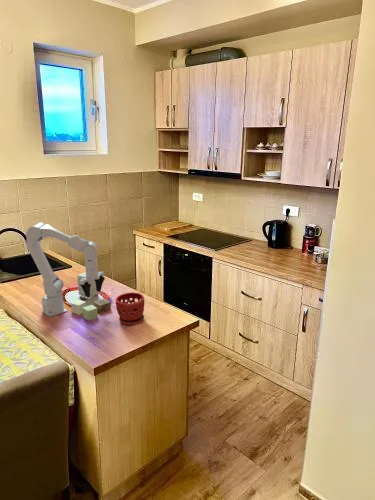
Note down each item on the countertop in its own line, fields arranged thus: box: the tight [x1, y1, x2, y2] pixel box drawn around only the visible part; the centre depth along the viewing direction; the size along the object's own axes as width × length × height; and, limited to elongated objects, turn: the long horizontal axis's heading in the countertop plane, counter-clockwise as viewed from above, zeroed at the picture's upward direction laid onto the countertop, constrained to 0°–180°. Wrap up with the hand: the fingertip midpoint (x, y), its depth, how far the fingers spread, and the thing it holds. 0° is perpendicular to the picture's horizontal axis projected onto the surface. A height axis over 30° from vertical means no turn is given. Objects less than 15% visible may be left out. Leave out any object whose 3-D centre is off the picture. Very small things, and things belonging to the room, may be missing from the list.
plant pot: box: [115, 292, 145, 326], centre depth 168 cm, size 13×13×12 cm
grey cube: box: [70, 299, 87, 316], centre depth 178 cm, size 5×5×5 cm
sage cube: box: [82, 304, 99, 322], centre depth 172 cm, size 5×5×5 cm
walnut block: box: [93, 298, 112, 313], centre depth 181 cm, size 6×6×4 cm
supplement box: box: [76, 271, 99, 298], centre depth 195 cm, size 7×7×13 cm
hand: (93, 293), depth 176 cm, fingers open, 7 cm apart
